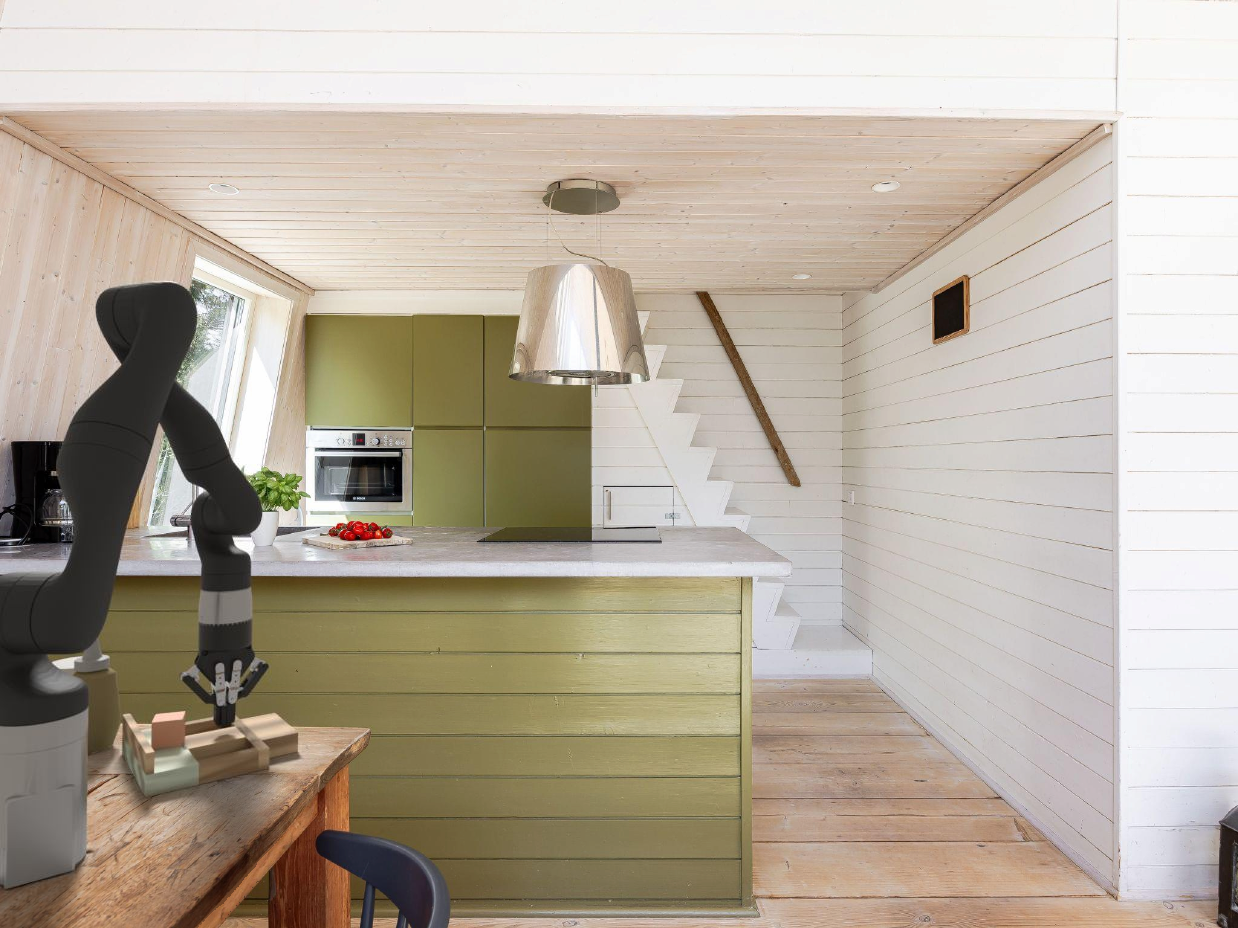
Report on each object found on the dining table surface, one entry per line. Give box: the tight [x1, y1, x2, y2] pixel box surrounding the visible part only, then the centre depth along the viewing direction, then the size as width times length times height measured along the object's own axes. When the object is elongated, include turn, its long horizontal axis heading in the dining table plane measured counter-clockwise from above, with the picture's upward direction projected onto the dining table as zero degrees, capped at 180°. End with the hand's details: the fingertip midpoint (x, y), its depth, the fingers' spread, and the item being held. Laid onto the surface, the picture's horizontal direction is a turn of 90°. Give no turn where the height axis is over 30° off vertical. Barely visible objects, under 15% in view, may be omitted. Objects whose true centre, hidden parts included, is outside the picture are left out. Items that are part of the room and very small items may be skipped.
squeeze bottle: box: [70, 637, 123, 754], centre depth 121 cm, size 8×8×18 cm
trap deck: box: [121, 712, 299, 798], centre depth 119 cm, size 20×22×6 cm
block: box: [151, 710, 186, 749], centre depth 116 cm, size 4×4×4 cm
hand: (224, 726), depth 120 cm, fingers closed
